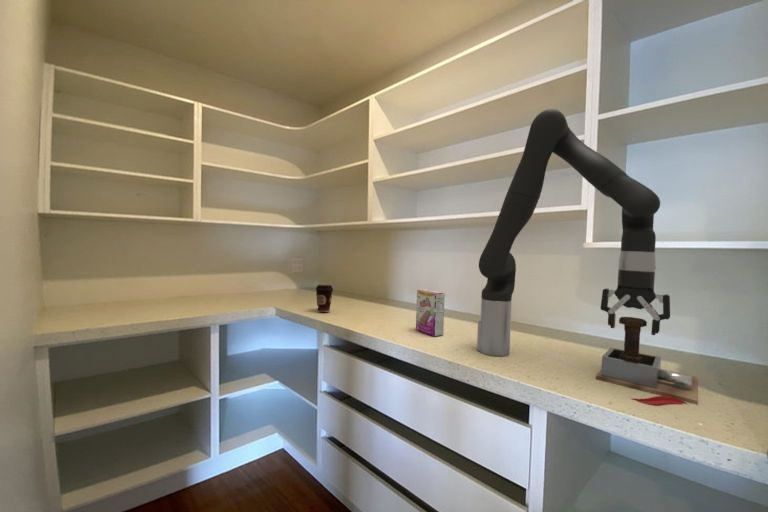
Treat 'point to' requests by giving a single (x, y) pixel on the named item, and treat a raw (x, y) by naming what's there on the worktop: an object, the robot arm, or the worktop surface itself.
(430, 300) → the candy bar box
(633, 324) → the bolt
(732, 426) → the worktop surface
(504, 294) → the robot arm
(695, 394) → the base
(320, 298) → the coffee cup
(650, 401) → the cayenne pepper
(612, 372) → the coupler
